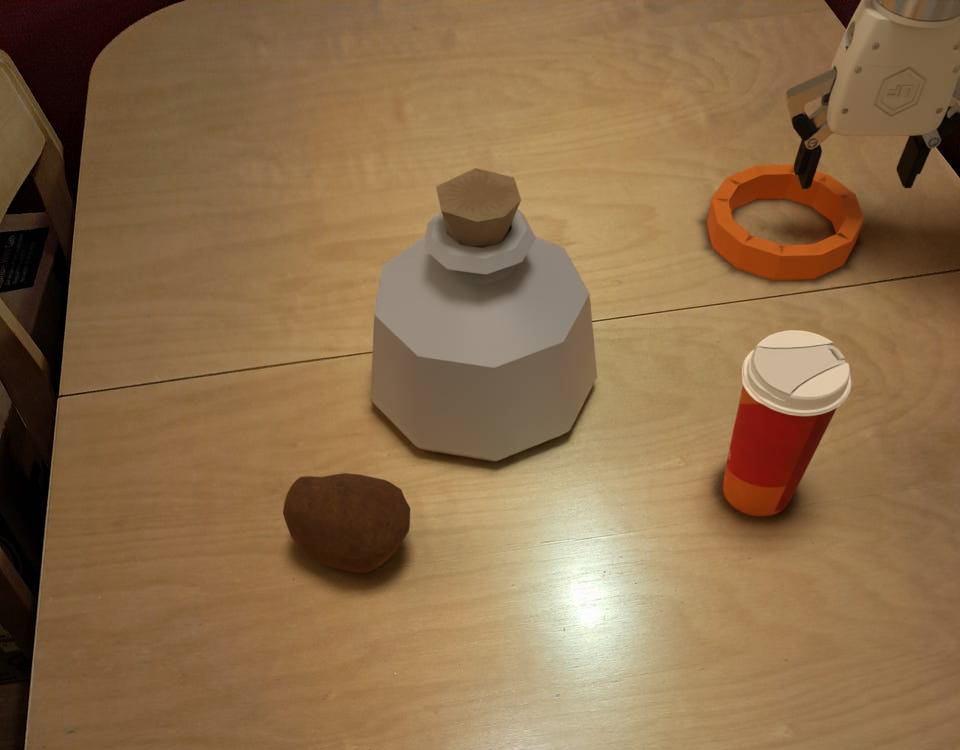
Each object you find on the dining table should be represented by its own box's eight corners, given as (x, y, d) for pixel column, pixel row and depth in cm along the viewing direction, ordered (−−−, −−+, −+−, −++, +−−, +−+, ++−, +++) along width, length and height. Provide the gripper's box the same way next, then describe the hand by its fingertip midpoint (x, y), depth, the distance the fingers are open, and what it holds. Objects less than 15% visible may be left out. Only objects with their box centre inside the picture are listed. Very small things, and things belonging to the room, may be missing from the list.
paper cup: (776, 447, 83) (823, 314, 71) (820, 514, 79) (877, 386, 67) (692, 470, 82) (725, 339, 70) (732, 539, 78) (775, 414, 66)
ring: (835, 189, 101) (844, 162, 98) (866, 279, 94) (876, 253, 91) (699, 193, 101) (704, 166, 99) (719, 284, 94) (725, 257, 91)
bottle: (596, 474, 81) (620, 288, 65) (363, 468, 82) (330, 282, 66) (594, 313, 92) (614, 117, 76) (387, 308, 93) (364, 114, 77)
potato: (299, 513, 80) (281, 447, 73) (418, 517, 80) (411, 451, 73) (286, 587, 76) (265, 525, 69) (410, 591, 76) (402, 529, 69)
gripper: (827, 10, 76) (769, 205, 91) (1046, 9, 76) (953, 204, 91) (808, -39, 80) (756, 156, 95) (1017, -39, 80) (932, 155, 95)
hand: (853, 179), depth 93 cm, fingers open, 9 cm apart
